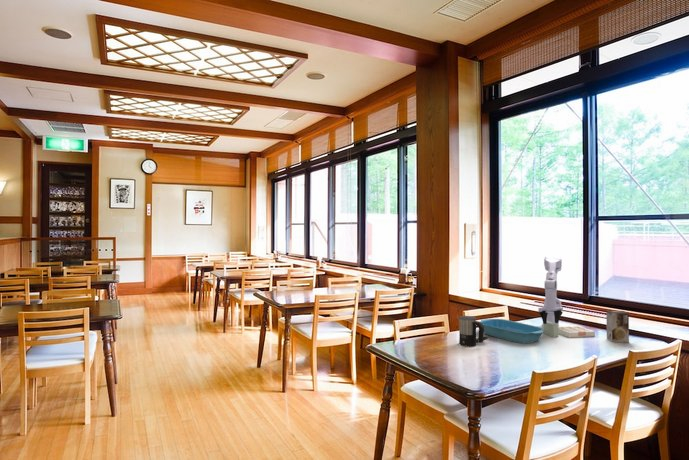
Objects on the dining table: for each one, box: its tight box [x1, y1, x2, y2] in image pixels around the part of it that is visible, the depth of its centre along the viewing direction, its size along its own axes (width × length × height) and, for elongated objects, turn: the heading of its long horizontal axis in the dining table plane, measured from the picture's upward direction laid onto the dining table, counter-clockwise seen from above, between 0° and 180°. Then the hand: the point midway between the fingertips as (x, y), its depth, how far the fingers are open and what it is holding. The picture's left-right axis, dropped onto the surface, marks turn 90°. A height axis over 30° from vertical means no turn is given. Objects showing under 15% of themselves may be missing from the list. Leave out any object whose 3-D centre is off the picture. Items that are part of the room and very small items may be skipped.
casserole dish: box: [479, 318, 544, 344], centre depth 249 cm, size 37×22×7 cm, turn 36°
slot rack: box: [558, 325, 596, 339], centre depth 255 cm, size 14×16×3 cm
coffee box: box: [606, 310, 630, 343], centre depth 240 cm, size 9×6×16 cm
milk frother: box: [458, 315, 489, 347], centre depth 235 cm, size 14×16×15 cm
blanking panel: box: [542, 321, 559, 338], centre depth 253 cm, size 10×3×7 cm, turn 9°
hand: (550, 323), depth 253 cm, fingers open, 7 cm apart
